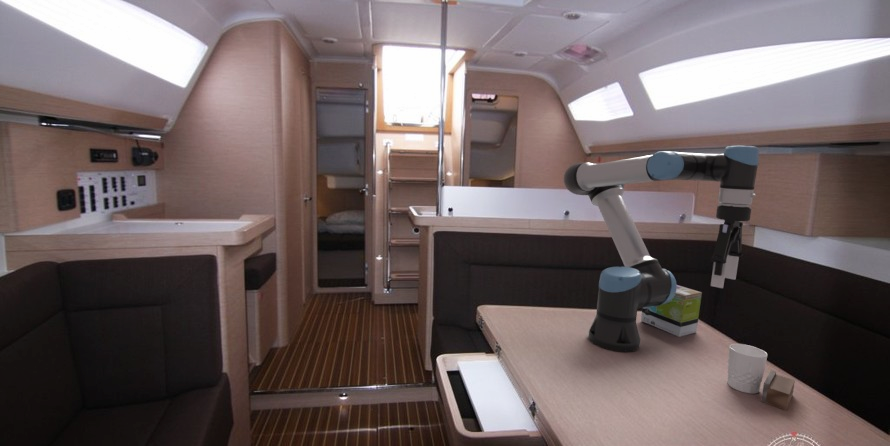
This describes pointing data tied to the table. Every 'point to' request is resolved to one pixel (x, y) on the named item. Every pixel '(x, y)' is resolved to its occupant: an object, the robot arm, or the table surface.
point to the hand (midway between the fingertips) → (723, 282)
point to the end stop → (777, 390)
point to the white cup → (746, 367)
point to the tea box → (676, 313)
